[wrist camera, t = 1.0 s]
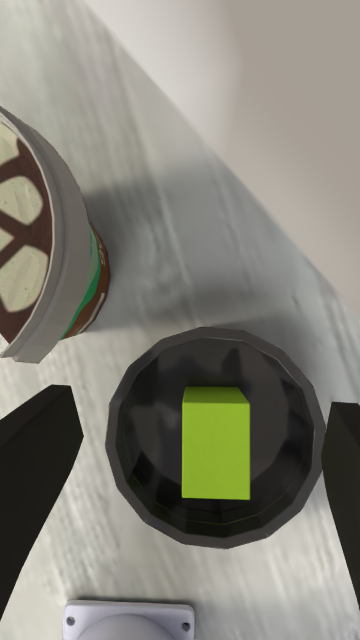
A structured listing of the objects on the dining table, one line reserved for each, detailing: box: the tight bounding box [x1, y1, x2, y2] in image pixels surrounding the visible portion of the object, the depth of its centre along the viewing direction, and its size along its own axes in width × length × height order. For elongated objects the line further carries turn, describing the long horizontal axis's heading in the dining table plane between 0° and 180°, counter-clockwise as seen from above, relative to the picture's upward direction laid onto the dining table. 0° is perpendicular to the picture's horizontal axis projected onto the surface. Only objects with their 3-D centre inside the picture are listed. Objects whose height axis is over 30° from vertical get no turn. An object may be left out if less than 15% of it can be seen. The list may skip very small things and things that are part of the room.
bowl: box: [105, 327, 326, 549], centre depth 19 cm, size 12×12×3 cm
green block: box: [182, 386, 250, 500], centre depth 18 cm, size 4×3×4 cm
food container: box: [0, 106, 110, 364], centre depth 16 cm, size 12×6×10 cm, turn 41°
